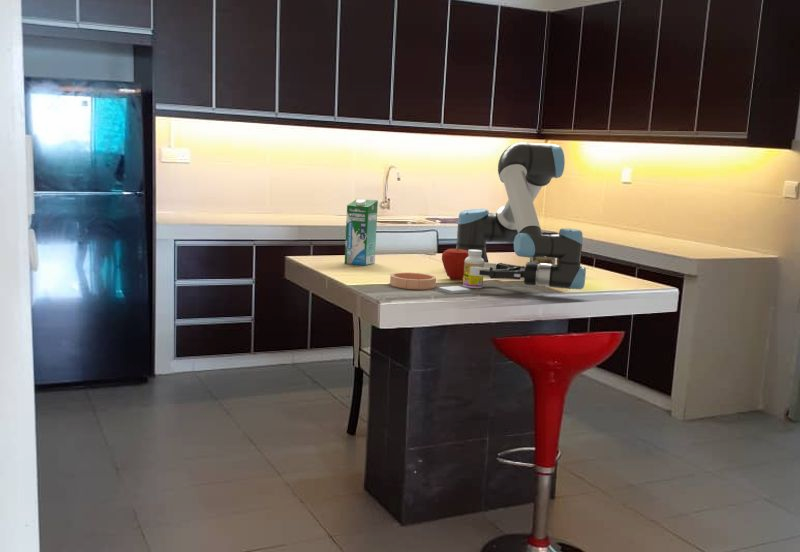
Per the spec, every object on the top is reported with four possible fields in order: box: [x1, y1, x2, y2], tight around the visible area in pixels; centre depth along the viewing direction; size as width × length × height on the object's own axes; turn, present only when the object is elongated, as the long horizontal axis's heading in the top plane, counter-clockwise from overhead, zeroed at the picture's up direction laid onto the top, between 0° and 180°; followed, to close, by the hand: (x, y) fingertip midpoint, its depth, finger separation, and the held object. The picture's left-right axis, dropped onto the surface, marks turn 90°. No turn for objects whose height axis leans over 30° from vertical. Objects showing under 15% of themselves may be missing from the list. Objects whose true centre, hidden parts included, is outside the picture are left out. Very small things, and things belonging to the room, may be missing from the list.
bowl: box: [389, 272, 437, 290], centre depth 256 cm, size 15×15×4 cm
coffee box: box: [529, 230, 559, 265], centre depth 308 cm, size 9×6×16 cm
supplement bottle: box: [462, 250, 484, 289], centre depth 260 cm, size 7×7×13 cm
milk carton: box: [344, 198, 379, 266], centre depth 302 cm, size 9×9×25 cm
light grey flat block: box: [438, 285, 471, 295], centre depth 249 cm, size 8×6×1 cm
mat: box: [430, 288, 477, 296], centre depth 249 cm, size 12×9×1 cm
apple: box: [441, 247, 469, 281], centre depth 274 cm, size 11×11×12 cm
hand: (473, 268), depth 259 cm, fingers open, 13 cm apart
